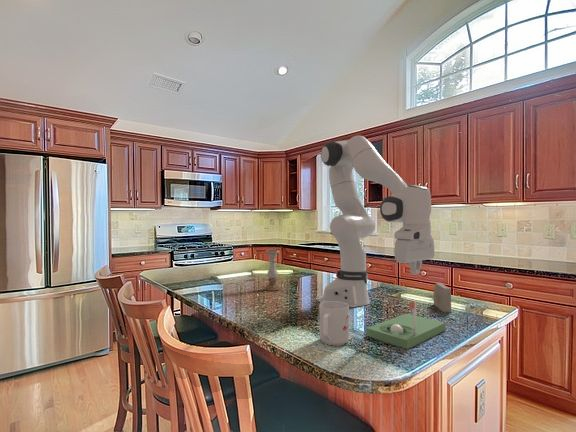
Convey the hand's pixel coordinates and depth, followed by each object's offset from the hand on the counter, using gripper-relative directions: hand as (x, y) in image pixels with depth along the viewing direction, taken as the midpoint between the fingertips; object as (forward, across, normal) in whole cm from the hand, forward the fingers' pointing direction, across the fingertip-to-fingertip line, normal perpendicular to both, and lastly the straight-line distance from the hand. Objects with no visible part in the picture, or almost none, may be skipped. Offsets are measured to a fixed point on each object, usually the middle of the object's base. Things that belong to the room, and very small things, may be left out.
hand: (415, 274), depth 111 cm
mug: (+19, +31, -9) cm, 37 cm away
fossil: (+19, -32, -5) cm, 37 cm away
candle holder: (+21, -1, -79) cm, 82 cm away
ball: (+16, +12, +1) cm, 20 cm away
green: (+18, +6, +1) cm, 19 cm away
